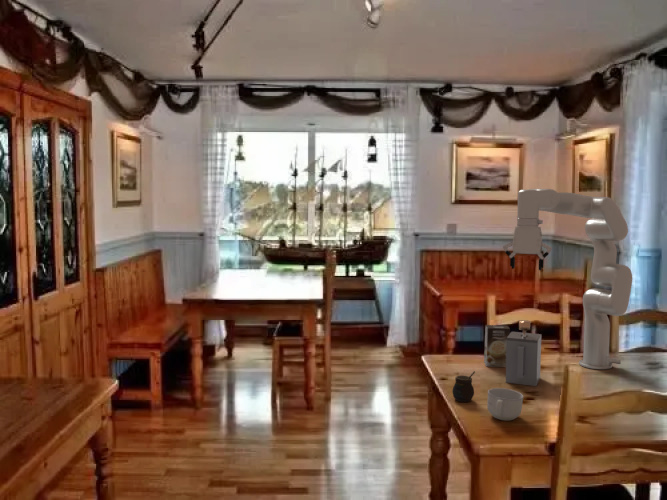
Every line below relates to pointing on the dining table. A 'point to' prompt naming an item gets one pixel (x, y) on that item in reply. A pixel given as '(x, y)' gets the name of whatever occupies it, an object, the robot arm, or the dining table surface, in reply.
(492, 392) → the teacup
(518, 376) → the press
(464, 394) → the mate gourd
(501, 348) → the coffee box
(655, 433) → the dining table surface
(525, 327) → the plunger
